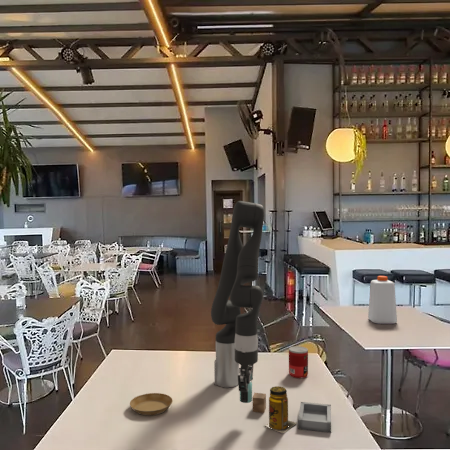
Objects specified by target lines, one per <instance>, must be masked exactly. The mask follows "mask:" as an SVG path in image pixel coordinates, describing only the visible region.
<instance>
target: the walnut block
mask: <svg viewBox="0 0 450 450" xmlns="http://www.w3.org/2000/svg"><path fill="white" fill-rule="evenodd" d="M266 408H267V394H266V393H264V392H263V393H261V392H254V393H253V394H252V413H259V414H264V413H265V412H266Z"/></svg>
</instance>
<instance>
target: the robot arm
mask: <svg viewBox="0 0 450 450" xmlns="http://www.w3.org/2000/svg"><path fill="white" fill-rule="evenodd" d="M264 222H265V208H264V206H263V205H262V204H260V203H254V202H249V201H243V200H238V201H236V203H234V207H233V211H232V215H231V222H230V227H229V236H228V239H227V240H228V241H227V245H226V249H225V254H224V257H223V262H222V266H221V272H220V277H219V281H218V287H217V289H216V292H215V295H214V298H213V301H212V305H211V309H210V310H211V311H210V317H211V318H210V319H211V321H212V323H213V324H215V325H218V326H222V325H224V327H223V328H222V329H220V330H219V331H217V332H216V334H215V360H214V367H213V368H214V372H213V373H214V386H218V387H221V388H233V387H237V386H238V392H240V391H241V401H240V403H243V402H244V403H243V404H248V403H247V402H248V384H249V383H250V382H251V383H252V384H253V380H254V378H253V376H254V365H255V364H257V362H258V360H259V340H258V339H259V337H258V321H259V320H258V319H259V314H260V310H261V307H262V304H263V301H264V291H263V289H262V288H261V286H259V285H246V284H247V283H253V282H255V281H256V280H257V279H258V277H259V256H260V247H261V243H262V235H263V229H264ZM240 228H246V229H252V230H253V231H252V235H251V236H250V238H249V239H248V240H247V242H246V243H245V244H244V245H243V242H242V239H241V235H240ZM241 308H243V309H244V308H247V309H248V308H251V310H250V311H248V312H245V313H242V312H241ZM242 386H244V387H242Z"/></svg>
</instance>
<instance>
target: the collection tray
mask: <svg viewBox="0 0 450 450" xmlns="http://www.w3.org/2000/svg"><path fill="white" fill-rule="evenodd" d="M297 422H298V423H297V429H298V430H304V431H311V432H312V431H313V432H322V433H332V405H331V404H328V403H318V402H317V403H316V402H306V401H300V406H299V412H298V419H297Z"/></svg>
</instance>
